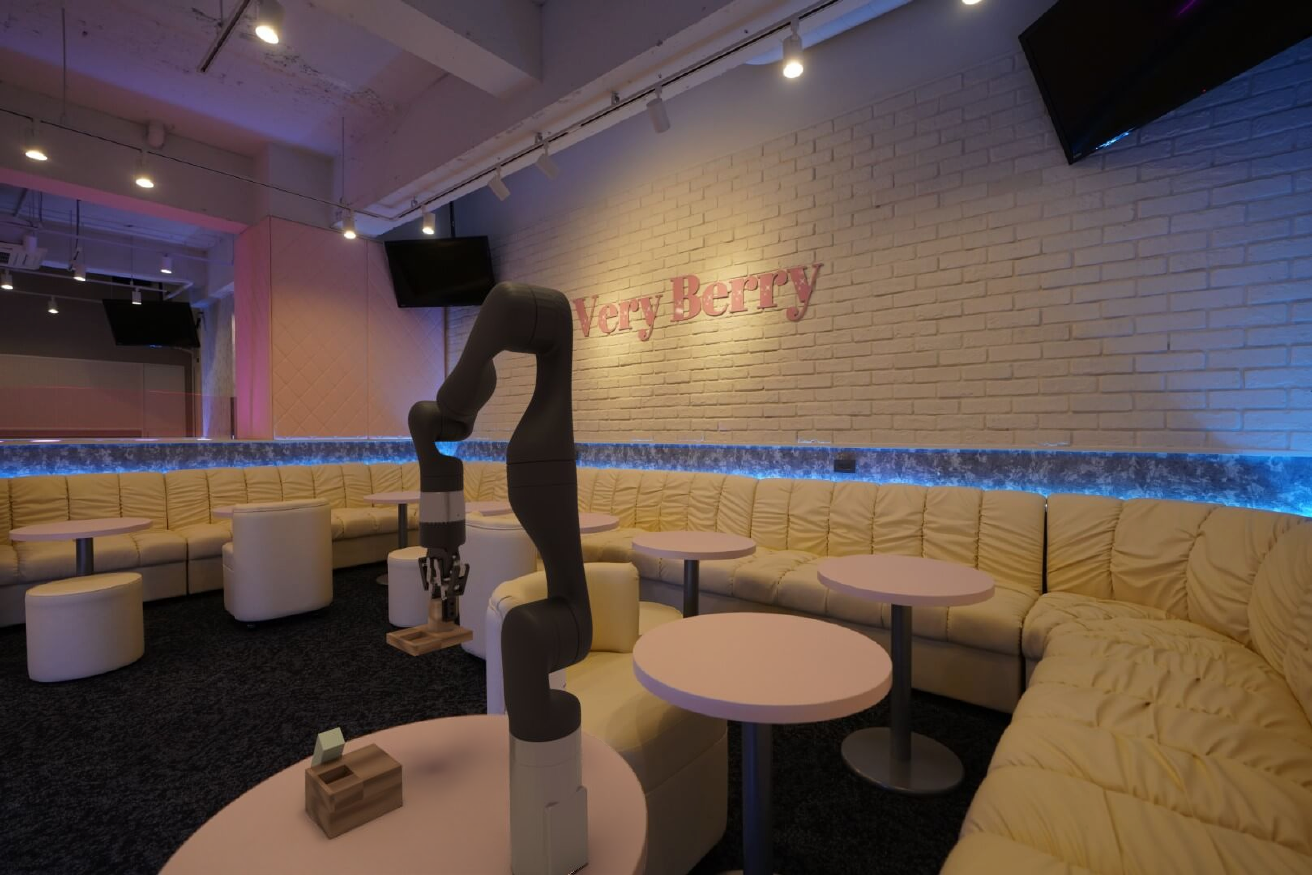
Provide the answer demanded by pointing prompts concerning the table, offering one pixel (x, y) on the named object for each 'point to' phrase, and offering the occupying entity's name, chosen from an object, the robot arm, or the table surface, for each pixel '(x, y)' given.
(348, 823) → the box
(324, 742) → the green square block
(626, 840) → the table surface
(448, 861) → the table surface
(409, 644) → the lid
